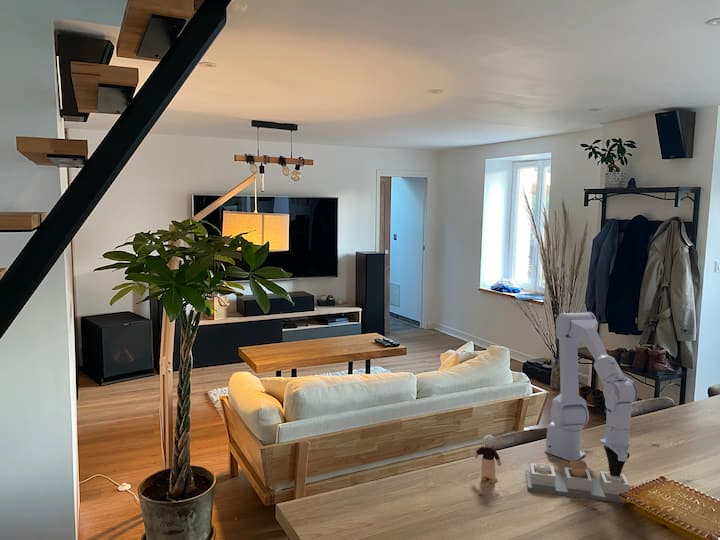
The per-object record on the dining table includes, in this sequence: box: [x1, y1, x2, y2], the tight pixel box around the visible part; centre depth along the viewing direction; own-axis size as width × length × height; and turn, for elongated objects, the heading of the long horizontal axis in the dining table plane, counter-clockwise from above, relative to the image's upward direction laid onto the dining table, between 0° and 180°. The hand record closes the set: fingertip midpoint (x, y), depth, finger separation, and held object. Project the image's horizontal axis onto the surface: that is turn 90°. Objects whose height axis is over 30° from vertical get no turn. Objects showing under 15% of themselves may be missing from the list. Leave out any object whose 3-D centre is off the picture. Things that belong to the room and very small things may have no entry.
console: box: [525, 462, 631, 504], centre depth 145 cm, size 26×10×4 cm, turn 76°
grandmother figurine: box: [473, 434, 502, 484], centre depth 149 cm, size 8×4×13 cm, turn 65°
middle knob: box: [570, 459, 588, 478], centre depth 145 cm, size 4×4×4 cm
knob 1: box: [535, 462, 551, 474], centre depth 147 cm, size 4×4×4 cm
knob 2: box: [606, 470, 623, 483], centre depth 143 cm, size 4×4×4 cm
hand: (614, 475), depth 143 cm, fingers closed, pressing on knob 2
